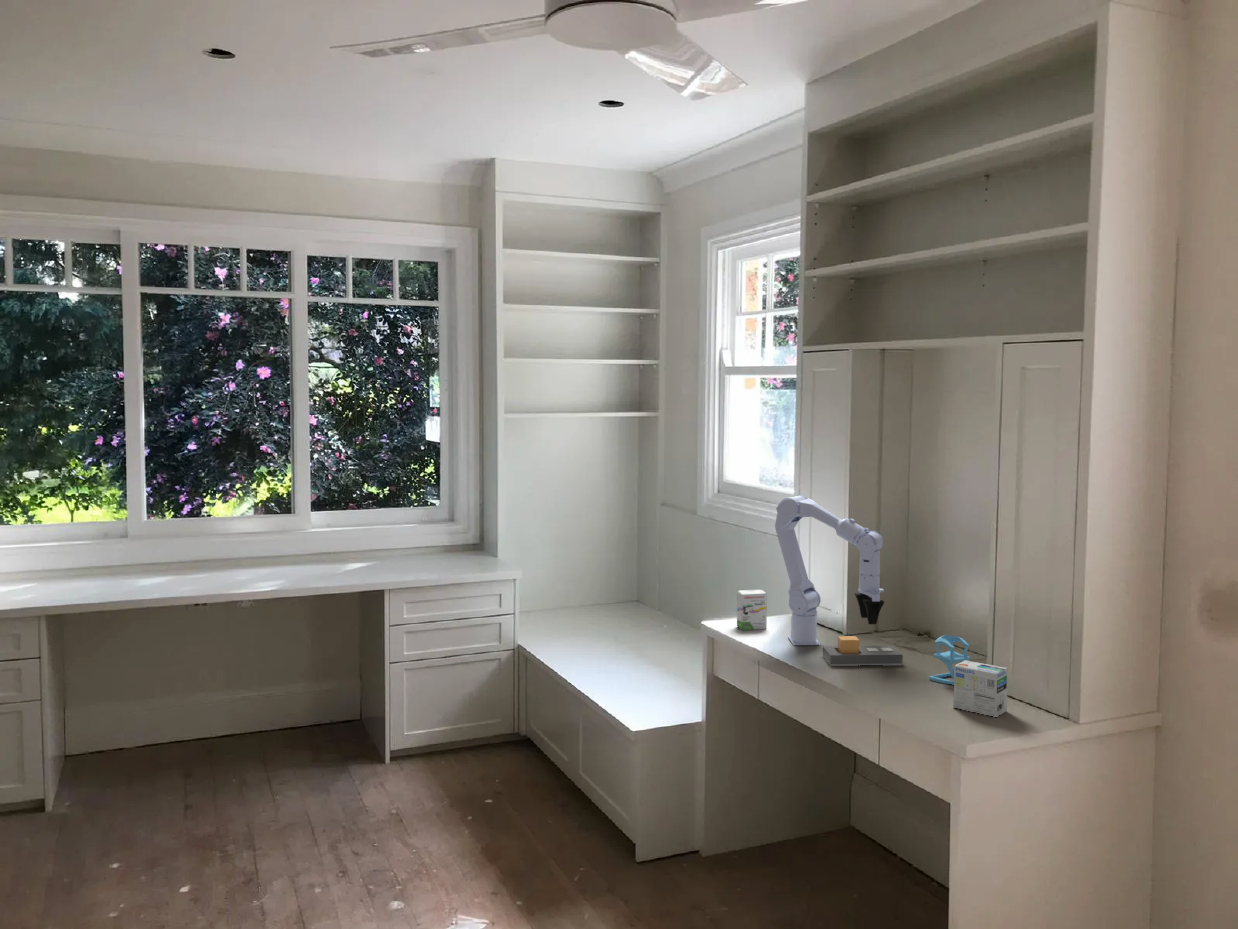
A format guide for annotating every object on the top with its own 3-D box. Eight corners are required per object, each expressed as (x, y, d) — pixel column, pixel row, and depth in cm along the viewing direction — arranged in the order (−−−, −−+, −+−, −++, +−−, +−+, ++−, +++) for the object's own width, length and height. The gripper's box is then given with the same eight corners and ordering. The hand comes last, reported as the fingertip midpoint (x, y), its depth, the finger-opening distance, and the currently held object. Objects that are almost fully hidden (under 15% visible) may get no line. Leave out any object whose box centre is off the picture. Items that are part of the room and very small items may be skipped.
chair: (951, 688, 253) (953, 642, 251) (928, 679, 260) (929, 635, 259) (974, 684, 256) (975, 639, 255) (949, 675, 263) (951, 631, 262)
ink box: (741, 630, 312) (741, 593, 310) (736, 626, 316) (736, 590, 315) (767, 629, 313) (767, 592, 312) (761, 625, 318) (762, 589, 317)
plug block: (837, 657, 279) (837, 636, 279) (855, 657, 279) (855, 636, 279) (841, 661, 275) (841, 640, 275) (858, 661, 275) (859, 640, 275)
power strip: (822, 656, 282) (822, 645, 282) (892, 655, 282) (892, 644, 282) (830, 666, 273) (830, 654, 272) (902, 665, 273) (902, 654, 273)
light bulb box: (1007, 711, 235) (1008, 667, 234) (996, 719, 230) (998, 673, 229) (963, 702, 242) (964, 658, 241) (952, 709, 237) (953, 664, 236)
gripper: (890, 579, 276) (889, 626, 278) (876, 569, 291) (875, 614, 292) (865, 579, 276) (865, 627, 277) (852, 569, 291) (851, 614, 292)
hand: (868, 620), depth 285 cm, fingers open, 7 cm apart
